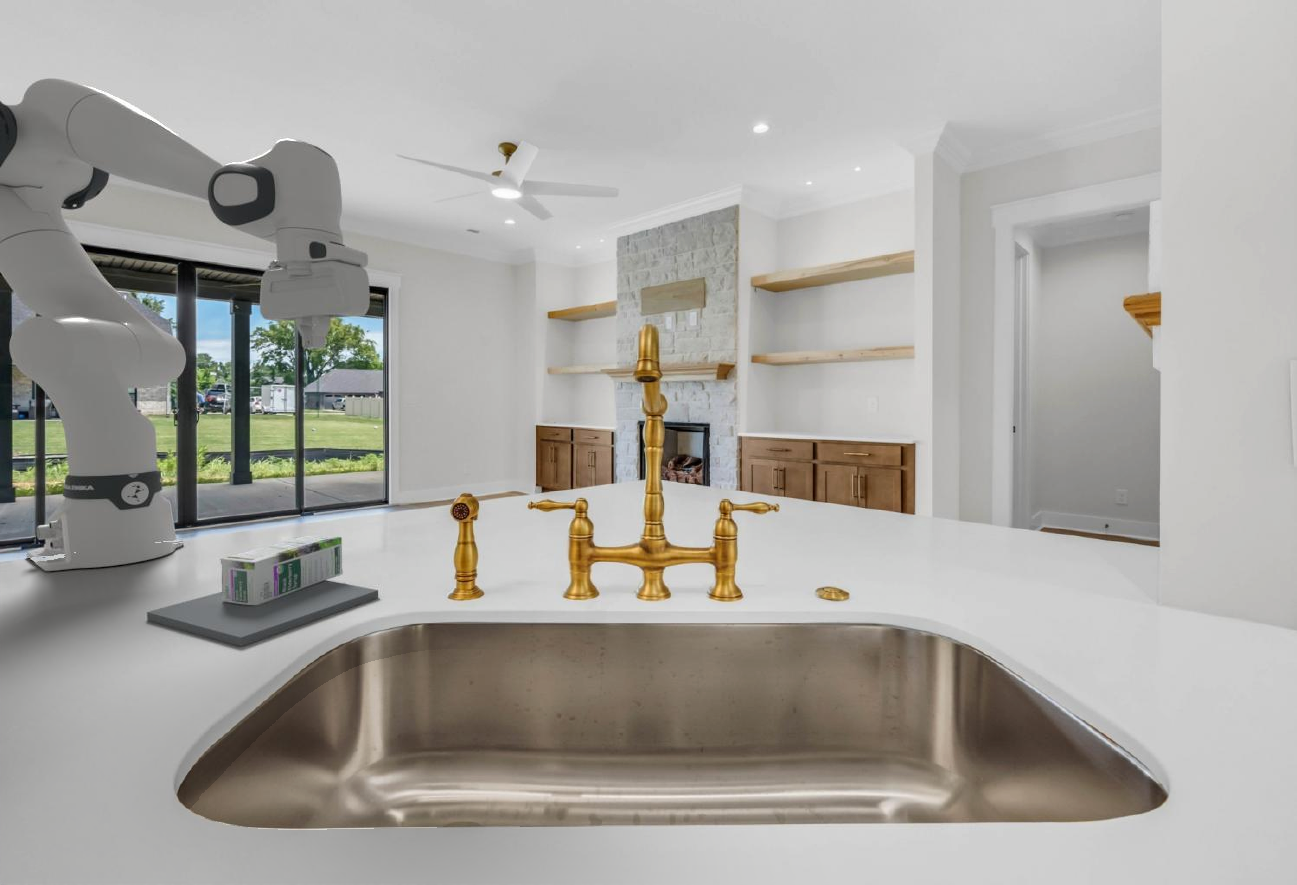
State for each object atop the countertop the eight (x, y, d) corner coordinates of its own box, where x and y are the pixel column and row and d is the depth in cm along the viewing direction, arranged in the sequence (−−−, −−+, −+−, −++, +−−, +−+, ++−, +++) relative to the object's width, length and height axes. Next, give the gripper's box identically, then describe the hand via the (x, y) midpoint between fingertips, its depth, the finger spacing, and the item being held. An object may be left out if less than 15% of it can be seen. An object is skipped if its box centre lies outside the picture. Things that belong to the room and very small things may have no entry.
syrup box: (344, 574, 89) (257, 607, 75) (310, 571, 91) (219, 602, 77) (343, 536, 89) (255, 561, 75) (309, 533, 90) (217, 558, 76)
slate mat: (147, 620, 74) (146, 611, 74) (289, 579, 90) (289, 573, 90) (241, 646, 66) (240, 637, 66) (378, 597, 82) (378, 590, 82)
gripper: (246, 257, 94) (249, 348, 95) (338, 244, 85) (341, 344, 86) (285, 265, 99) (288, 351, 100) (376, 254, 91) (378, 348, 92)
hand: (314, 348), depth 93 cm, fingers closed
